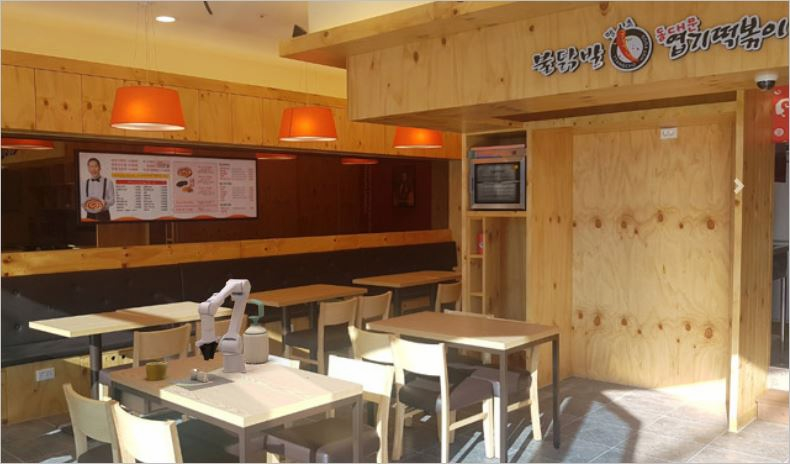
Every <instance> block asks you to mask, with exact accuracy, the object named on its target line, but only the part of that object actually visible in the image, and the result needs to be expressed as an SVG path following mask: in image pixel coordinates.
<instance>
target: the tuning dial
mask: <svg viewBox="0 0 790 464" xmlns="http://www.w3.org/2000/svg"><path fill="white" fill-rule="evenodd" d="M201 369H202V368H200V367H193V368H190V377H191V380H199V381H202V382H209V380H208V379H207V374H208V372H206V371H202V370H201Z"/></svg>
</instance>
